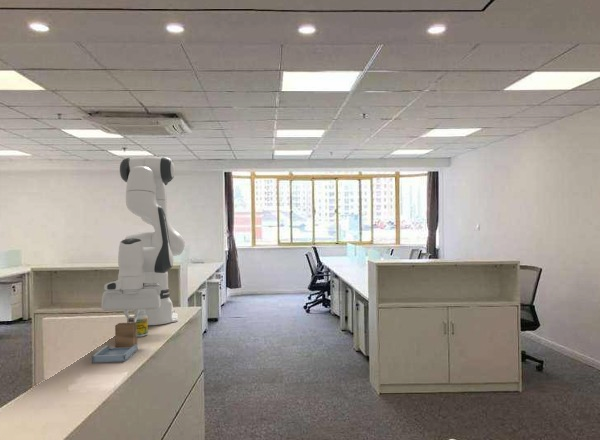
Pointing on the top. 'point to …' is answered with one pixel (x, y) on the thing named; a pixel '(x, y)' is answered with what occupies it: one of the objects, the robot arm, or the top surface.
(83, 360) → the top surface
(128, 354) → the tray
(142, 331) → the supplement bottle
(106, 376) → the top surface
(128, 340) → the wooden block
